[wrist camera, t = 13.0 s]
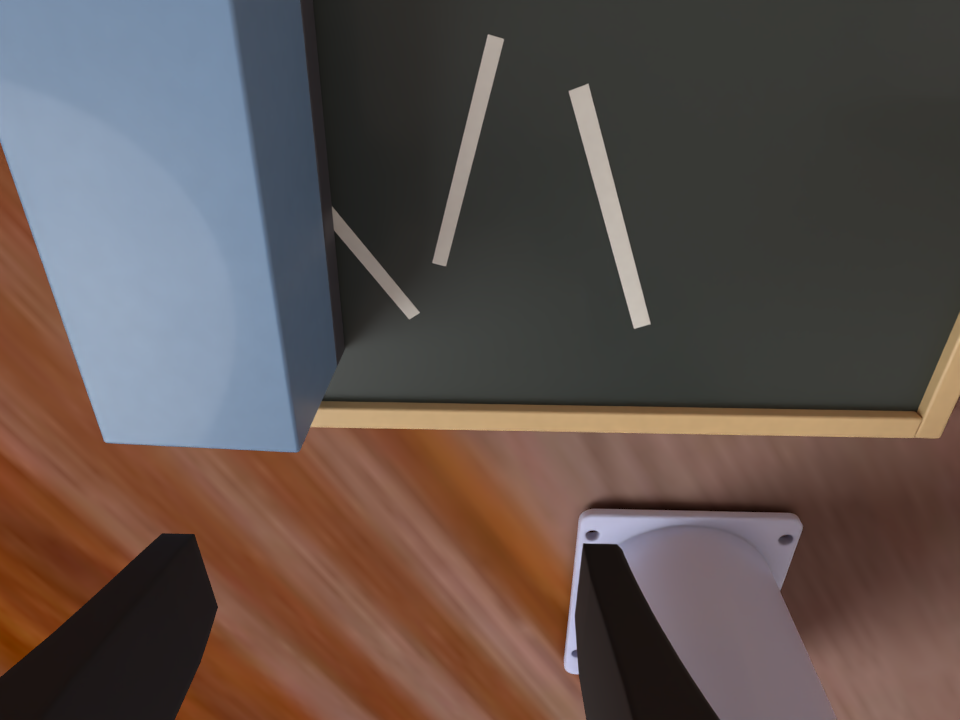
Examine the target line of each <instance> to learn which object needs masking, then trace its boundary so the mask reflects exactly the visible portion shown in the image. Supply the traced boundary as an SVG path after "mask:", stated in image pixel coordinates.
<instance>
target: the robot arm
mask: <svg viewBox="0 0 960 720" xmlns="http://www.w3.org/2000/svg"><path fill="white" fill-rule="evenodd" d="M802 529H803V525H802V523H801V521H800V519H799V517H798V516H797V515H795V514H793V513H775V512H729V511H683V510H636V509H588V510H586V511H584V512H583V513H581V514H580V517H579V523H578V532H577V541H576V551H575V560H574V570H573V579H572V588H571V598H570V607H569V616H568V626H567V635H566V644H565V654H564V667H565V670H566V671H567V672H569V673H571V674H579V678H580V684H581V690H582V696H583V702H584V708H585V714H586V720H837V718H836V716H835V713H834V711H833V709H832V707H831V704H830V702H829V700H828V698H827V695H826V693H825V691H824V689H823V686H822V684H821V682H820V680H819V678H818V675H817V673H816V671H815V669H814V666H813V664H812V662H811V660H810V657H809V655H808V653H807V651H806V648H805V646H804V644H803V642H802V639H801V637H800V635H799V633H798V631H797V628H796V626H795V624H794V622H793V619H792V617H791V615H790V613H789V610H788V608H787V606H786V604H785V601H784V599H783V597H782V595H781V592H780V591H781V588H782V585H783V582H784V580H785V577H786V574H787V571H788V568H789V566H790V563H791V560H792V557H793V554H794V552H795V549H796V546H797V543H798V541H799V538H800V535H801V532H802ZM591 530H595V532H591V533H590V532H588V531H591ZM783 535H785V536H783ZM781 536H782V537H781ZM217 608H218V606H217V603H216V600H215V597H214V594H213V590H212V587H211V584H210V581H209V578H208V575H207V572H206V569H205V566H204V563H203V560H202V557H201V554H200V550H199V547H198V544H197V541H196V538H195V535H194V534H161V535H160V536H159V537H158V538H157V539H155V540H154V541H153V542H152V543H151V544H150V545H149V546H148V547H147V548H146V549H144V550H143V551H142V552H141V553H140V554H139V555H138V556H137V557H136V558H135V559H134V560H133V561H131V562H130V563H129V564H128V565H127V566H126V567H125V568H124V569H123V570H122V571H121V572H120V573H119V574H117V575H116V576H115V577H114V578H113V579H112V580H111V581H110V582H109V583H108V584H107V585H106V586H104V587H103V588H102V589H101V590H100V591H99V592H98V593H97V594H96V595H95V596H94V597H93V598H91V599H90V600H89V601H88V602H87V603H86V604H85V605H84V606H83V607H81V608H80V609H79V610H78V611H77V612H76V613H75V614H74V615H73V616H71V617H70V618H69V619H68V620H67V621H66V622H65V623H64V624H63V625H61V626H60V627H59V628H58V629H57V630H56V631H55V632H54V633H52V634H51V635H50V636H49V637H48V638H47V639H45V640H44V641H43V642H42V643H41V644H39V645H38V646H37V647H36V648H35V649H33V650H32V651H31V652H30V653H29V654H28V655H26V656H25V657H24V658H23V659H22V660H20V661H19V662H18V663H17V664H16V665H14V666H13V667H12V668H11V669H10V670H8V671H7V672H6V673H5V674H4V675H3V676H1V677H0V720H175V718H176V715H177V713H178V711H179V709H180V707H181V704H182V702H183V700H184V698H185V696H186V693H187V691H188V689H189V687H190V684H191V682H192V680H193V678H194V675H195V673H196V671H197V669H198V666H199V664H200V662H201V659H202V656H203V653H204V650H205V647H206V644H207V641H208V638H209V635H210V631H211V628H212V625H213V621H214V618H215V615H216V611H217Z"/></svg>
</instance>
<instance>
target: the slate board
mask: <svg viewBox="0 0 960 720" xmlns="http://www.w3.org/2000/svg"><path fill="white" fill-rule="evenodd" d="M313 8H314V19H315V30H316V41H317V52H318V62H319V73H320V84H321V95H322V106H323V117H324V128H325V138H326V149H327V160H328V171H329V182H330V193H331V204H332V214H333V225H334V236H335V247H336V258H337V269H338V280H339V290H340V301H341V312H342V323H343V334H344V345H345V350H344V353H343V355H342V357H341V360H340V362H339V364H338V366H337V367H336V370H335V372H334V374H333V377H332V379H331V381H330V383H329V386H328V388H327V390H326V392H325V395H324V397H323V399H322V401H321V404H320V406H319V408H318V410H317V413H316V415H315V417H314V420H313V422H312V424H311V426H310V427H334V428H389V429H443V430H498V431H553V432H607V433H662V434H717V435H772V436H826V437H881V438H914V437H916V438H940V437H941V435H942V433H943V430H944V428H945V426H946V424H947V422H948V420H949V418H950V415H951V413H952V411H953V409H954V407H955V405H956V402H957V400H958V398H959V396H960V0H313Z"/></svg>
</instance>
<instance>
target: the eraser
mask: <svg viewBox="0 0 960 720" xmlns="http://www.w3.org/2000/svg"><path fill="white" fill-rule="evenodd" d="M0 142H1V145H2V148H3V151H4V154H5V157H6V160H7V162H8V165H9V168H10V171H11V174H12V177H13V180H14V183H15V186H16V188H17V191H18V194H19V197H20V200H21V203H22V206H23V209H24V211H25V214H26V217H27V220H28V223H29V226H30V229H31V232H32V235H33V237H34V240H35V243H36V246H37V249H38V252H39V255H40V258H41V261H42V263H43V266H44V269H45V272H46V275H47V278H48V281H49V284H50V286H51V289H52V292H53V295H54V298H55V301H56V304H57V307H58V310H59V312H60V315H61V318H62V321H63V324H64V327H65V330H66V333H67V335H68V338H69V341H70V344H71V347H72V350H73V353H74V356H75V359H76V361H77V364H78V367H79V370H80V373H81V376H82V379H83V382H84V384H85V387H86V390H87V393H88V396H89V399H90V402H91V405H92V408H93V410H94V413H95V416H96V419H97V422H98V425H99V428H100V431H101V433H102V436H103V439H104V441H105V442H106V443H115V444H136V445H156V446H176V447H197V448H217V449H237V450H258V451H278V452H299V451H300V449H301V447H302V444H303V442H304V440H305V438H306V435H307V433H308V431H309V429H310V426H311V424H312V422H313V420H314V417H315V415H316V413H317V410H318V408H319V406H320V404H321V401H322V399H323V397H324V395H325V392H326V390H327V388H328V386H329V383H330V381H331V379H332V377H333V374H334V372H335V370H336V367H337V366H338V364H339V362H340V360H341V357H342V355H343V353H344V350H345V345H344V334H343V323H342V312H341V301H340V290H339V280H338V269H337V258H336V247H335V236H334V225H333V214H332V204H331V193H330V182H329V171H328V160H327V149H326V138H325V128H324V117H323V106H322V95H321V84H320V73H319V62H318V52H317V41H316V30H315V19H314V8H313V0H0Z"/></svg>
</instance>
